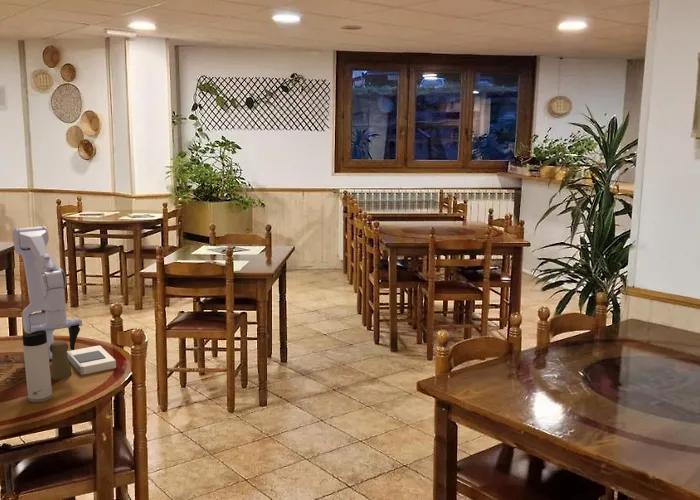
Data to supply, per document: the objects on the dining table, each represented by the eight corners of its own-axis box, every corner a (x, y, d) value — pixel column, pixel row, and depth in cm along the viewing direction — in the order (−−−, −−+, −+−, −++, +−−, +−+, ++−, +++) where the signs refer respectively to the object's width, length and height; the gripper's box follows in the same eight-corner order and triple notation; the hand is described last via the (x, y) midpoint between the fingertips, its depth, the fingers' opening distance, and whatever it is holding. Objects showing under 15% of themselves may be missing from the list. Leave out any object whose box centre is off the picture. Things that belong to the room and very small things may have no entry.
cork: (64, 380, 210) (61, 345, 208) (46, 378, 212) (43, 344, 210) (75, 372, 216) (73, 339, 214) (58, 371, 217) (55, 338, 215)
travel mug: (37, 404, 193) (31, 336, 189) (23, 399, 196) (17, 332, 192) (57, 397, 198) (51, 330, 194) (43, 392, 201) (37, 326, 197)
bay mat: (73, 356, 224) (73, 355, 224) (98, 351, 229) (98, 350, 229) (80, 363, 218) (79, 362, 218) (105, 358, 222) (105, 357, 222)
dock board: (67, 358, 229) (66, 351, 228) (100, 352, 235) (99, 344, 235) (81, 375, 215) (80, 367, 214) (116, 367, 221) (115, 360, 220)
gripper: (32, 316, 203) (36, 360, 205) (83, 308, 211) (87, 350, 213) (27, 311, 208) (32, 353, 211) (77, 303, 216) (81, 344, 219)
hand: (59, 351), depth 212 cm, fingers open, 7 cm apart
